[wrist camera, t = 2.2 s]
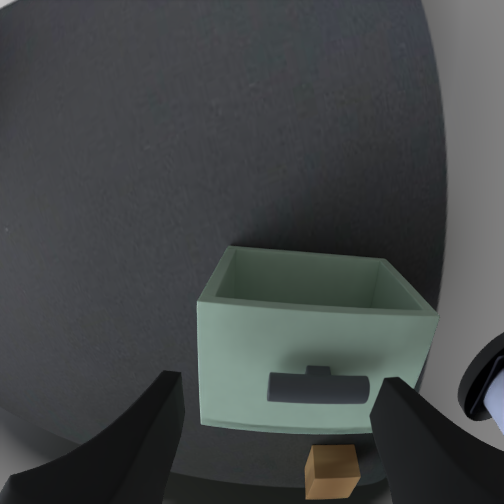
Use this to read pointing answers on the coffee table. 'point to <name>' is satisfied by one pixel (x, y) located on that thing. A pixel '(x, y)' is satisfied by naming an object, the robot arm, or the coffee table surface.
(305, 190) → the coffee table surface
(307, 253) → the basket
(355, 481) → the block
